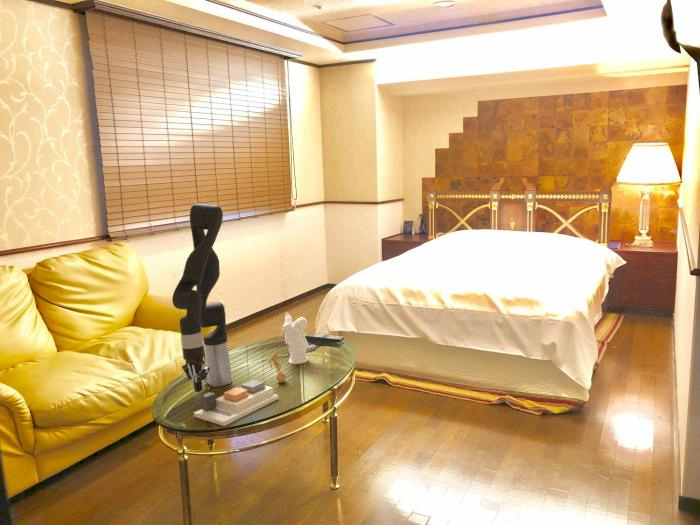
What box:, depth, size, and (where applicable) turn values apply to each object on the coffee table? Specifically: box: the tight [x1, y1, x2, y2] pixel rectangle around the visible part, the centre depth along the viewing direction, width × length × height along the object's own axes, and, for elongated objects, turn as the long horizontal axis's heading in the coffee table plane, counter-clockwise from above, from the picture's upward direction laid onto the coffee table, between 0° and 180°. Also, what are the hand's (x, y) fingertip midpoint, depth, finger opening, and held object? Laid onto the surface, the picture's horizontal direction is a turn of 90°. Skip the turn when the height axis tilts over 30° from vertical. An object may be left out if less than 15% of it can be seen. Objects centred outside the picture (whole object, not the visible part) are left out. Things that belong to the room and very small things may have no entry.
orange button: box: [223, 386, 248, 402], centre depth 206 cm, size 6×6×3 cm
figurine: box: [268, 352, 287, 384], centre depth 229 cm, size 8×6×12 cm
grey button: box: [241, 379, 266, 394], centre depth 213 cm, size 6×6×3 cm
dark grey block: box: [200, 391, 217, 411], centre depth 204 cm, size 3×4×5 cm
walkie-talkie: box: [287, 342, 319, 355], centre depth 271 cm, size 9×4×20 cm
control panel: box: [193, 385, 279, 427], centre depth 207 cm, size 16×26×4 cm, turn 143°
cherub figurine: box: [280, 311, 309, 365], centre depth 251 cm, size 12×12×22 cm
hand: (198, 391), depth 207 cm, fingers closed
